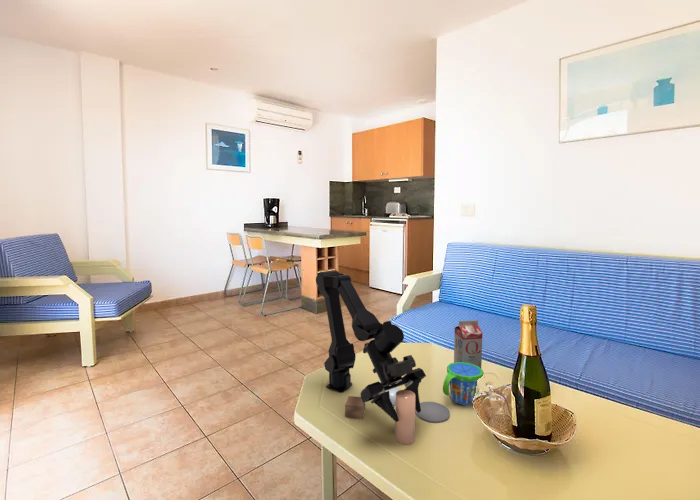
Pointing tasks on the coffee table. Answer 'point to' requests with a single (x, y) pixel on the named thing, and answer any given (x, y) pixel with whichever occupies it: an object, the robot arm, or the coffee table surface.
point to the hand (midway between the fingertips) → (408, 416)
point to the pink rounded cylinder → (405, 417)
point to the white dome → (393, 395)
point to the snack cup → (462, 382)
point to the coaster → (433, 412)
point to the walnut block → (354, 407)
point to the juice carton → (468, 343)
